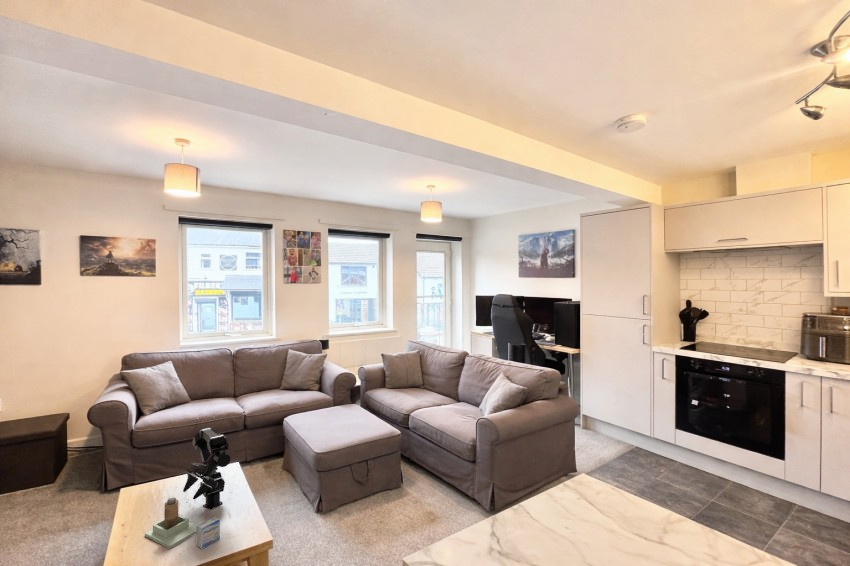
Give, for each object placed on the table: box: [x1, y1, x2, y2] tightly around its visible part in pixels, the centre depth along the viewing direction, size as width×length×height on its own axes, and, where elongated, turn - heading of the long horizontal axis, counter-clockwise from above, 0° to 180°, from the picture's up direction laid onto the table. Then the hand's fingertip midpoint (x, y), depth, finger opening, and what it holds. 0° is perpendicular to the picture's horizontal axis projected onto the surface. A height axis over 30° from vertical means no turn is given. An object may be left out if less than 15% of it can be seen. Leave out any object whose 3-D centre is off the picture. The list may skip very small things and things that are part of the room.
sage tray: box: [144, 514, 198, 549], centre depth 174 cm, size 18×14×4 cm
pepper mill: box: [163, 497, 179, 530], centre depth 175 cm, size 5×5×13 cm
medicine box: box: [195, 516, 221, 549], centre depth 168 cm, size 8×4×9 cm, turn 148°
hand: (188, 495), depth 181 cm, fingers open, 9 cm apart
